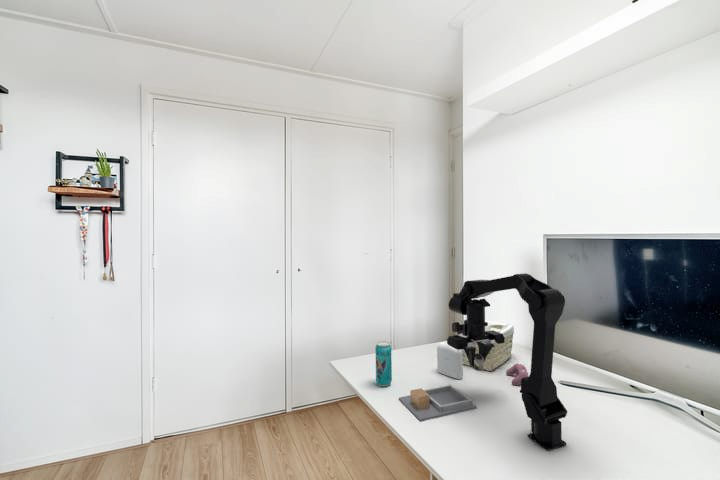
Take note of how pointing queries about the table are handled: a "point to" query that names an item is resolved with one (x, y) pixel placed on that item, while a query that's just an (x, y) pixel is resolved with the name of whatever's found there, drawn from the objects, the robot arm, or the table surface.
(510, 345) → the storage basket
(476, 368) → the wristwatch
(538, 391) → the robot arm
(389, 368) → the beverage can
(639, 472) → the table surface
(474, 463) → the table surface
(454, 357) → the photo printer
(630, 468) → the table surface
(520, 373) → the video game controller
